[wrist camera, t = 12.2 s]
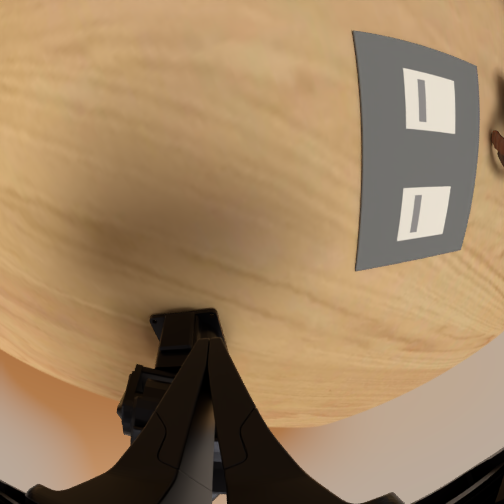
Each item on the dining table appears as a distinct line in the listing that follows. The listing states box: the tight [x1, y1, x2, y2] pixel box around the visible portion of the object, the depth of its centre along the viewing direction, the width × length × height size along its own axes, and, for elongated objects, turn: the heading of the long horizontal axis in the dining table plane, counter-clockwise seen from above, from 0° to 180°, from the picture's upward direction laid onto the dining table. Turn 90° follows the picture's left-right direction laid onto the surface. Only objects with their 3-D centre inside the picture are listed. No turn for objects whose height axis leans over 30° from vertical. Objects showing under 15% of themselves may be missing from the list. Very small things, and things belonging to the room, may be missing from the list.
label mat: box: [353, 31, 480, 271], centre depth 18 cm, size 20×14×1 cm
